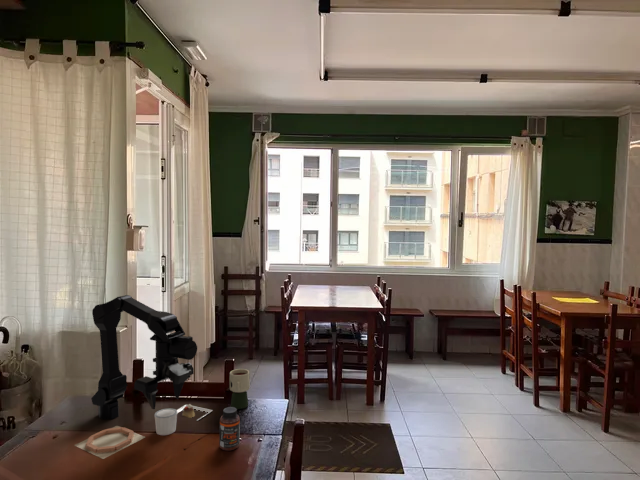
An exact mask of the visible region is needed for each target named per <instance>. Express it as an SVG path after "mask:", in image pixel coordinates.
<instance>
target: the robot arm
mask: <svg viewBox="0 0 640 480" xmlns="http://www.w3.org/2000/svg"><path fill="white" fill-rule="evenodd" d="M123 312H124V313H127V314H128V315H131V316H132V317H134V318H135V319H137V320H139V321H141V322H143V323H145V324H146V326H147V329H148V330H149V331H150V332H152V333H153V335H152V336H150V338H149V340H150V341H155V357H153V358H152V362H153V363H155V370H153V371H152V375H153V376H154V377H150V376H145V375H144V376H142V377H140V378H137V379H135V381H134V386H133V388H134V390H136V391H139V392H142V394H143V395H144V397H145V399H146V400H147V402H148V404H149V406H150V408H151V409H152V410H155V409H156V405H157V404H156V402H157V401H156V397H157V396H156V395H157V394H156V393H158V391H159V389H158V387H159V385H158V384H159V383H161V382H164V381H167V380H170V381H171V382H172V387H173V392H174V397H175V399H179V398H180V396H181V392H182V390H183V387H184V384H185V382H186V381H187V380H188V379H190V378H191V376H192V375H194V374H195V373H194V367H193V364H192V363H191V362H186V363H184V362H181V363H179V359H183V360H188V361H191V360H193V359H194V358H195V356H196V354H197V353H198V345H197V342H196V341H194V340H193V339H194V337H193V336H190V335H188V336H185V335H186V333H185V331H184V329H183V327H182V325H181V323H180V322H179V320H178V316H177V315H176V314H174V313H171V312H168V311H161V310H156V309H154V308H153V307H150V306H148V305H146V304H145V303H142V302H141V301H139V300H137V299H135V298H134V297H132V296H131V295H129V294H126V295H119V296H116V297H115V298H113V299H112V300H110V301H107V302H104V303H99V304H96V305H94V307H93V308H92V311H91V313H92V318H93V324H94V325H95V326H96V328H97V329H98V330H99V338H100V339H99V340H100V352H101V353H100V354H101V365H102V366H101V367H102V374H101V376H100V378H99V380H98V382H97V383H98V384H97V391H96V392H95V393H94V394H93V396H92V397H91V403H92V405H93V406H97V407H98V409H97V411H98V418H99V419H101V420H114V419H117V418H119V417H120V414H119V413H120V411H119V410H120V409H119V400H120V399H122V398H124V395H125V392H126V391H127V387H128V383H127V379H128V377H127V375H126V374H123V373H122V372H121V370H120V362H119V348H118V335H117V328H118V325H119V323H120V322H121V319H122V317H121V316H122V313H123Z"/></svg>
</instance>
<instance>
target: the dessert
mask: <svg viewBox="0 0 640 480" xmlns="http://www.w3.org/2000/svg"><path fill="white" fill-rule="evenodd" d="M194 409H196V410H194ZM176 410H177V414H179V413H180V412H182V414H181V416H182V417H185V418H189V419H193V418H194V417H196V413H195V411H198V410H200V411H199V412H203V411H205V412H204V413H205V414H204V415H202V416H200V417H199V418H197V419H196V421H198V422H199V420H201V419H202V418H204V417H206V416H207V415H209V414H210V413H211V412H213V411H214V410H213V409H209V408H204V407H199V406H196V405H192V404H191V403H188V404H184V405H182V406H180V407H179V408H177V409H176ZM207 412H208V413H207ZM192 417H193V418H192Z"/></svg>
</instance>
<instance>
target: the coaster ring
mask: <svg viewBox="0 0 640 480" xmlns="http://www.w3.org/2000/svg"><path fill="white" fill-rule="evenodd" d="M119 427H120V428H113V427H110V428H106V429H103V430H101V431H98V432H96V433H94V434H92V435H90V436H89V437H88V438H87V439H88V441H87V443H86V449H88V450H91V451H93V452H95V453H96V452H97V453H102V452H110V451H115V450H118V449H120V448H122V447H124V446H126V445H128V444H130V443H131V442H132V439H133V436H134V433H135V432H134V430H132V429H129V428H127V427H122V426H119ZM118 432H122V433H124V434H127V435H129V436H128V439H127V440H125V441H123V442H121V443H119V444H117V445H115V446H106V447H97V446H95V445H93V444H92V443H93V441H94V439H96V438H99V437H101V436H103V435H105V434H109V433H118Z"/></svg>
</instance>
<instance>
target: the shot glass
mask: <svg viewBox="0 0 640 480" xmlns="http://www.w3.org/2000/svg"><path fill="white" fill-rule="evenodd" d="M177 420H178V413H177V409H176V408H162V409H160V410H157V411H155V413H154V422H155V432H156V434H157V435H158V436H159V435H160V436H168V435H171V434H173V433H175V432H176V430H177Z"/></svg>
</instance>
